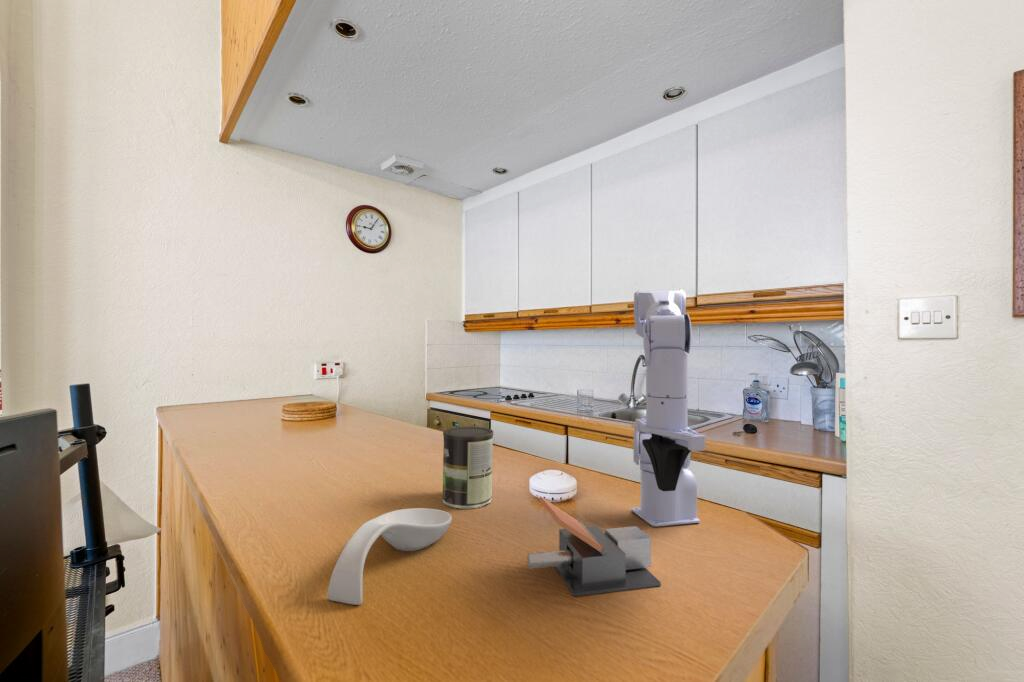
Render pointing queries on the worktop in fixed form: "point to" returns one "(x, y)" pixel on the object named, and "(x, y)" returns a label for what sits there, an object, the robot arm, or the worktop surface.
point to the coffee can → (467, 467)
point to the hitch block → (599, 566)
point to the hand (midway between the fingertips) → (666, 489)
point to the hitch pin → (625, 538)
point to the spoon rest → (398, 530)
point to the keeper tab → (573, 526)
